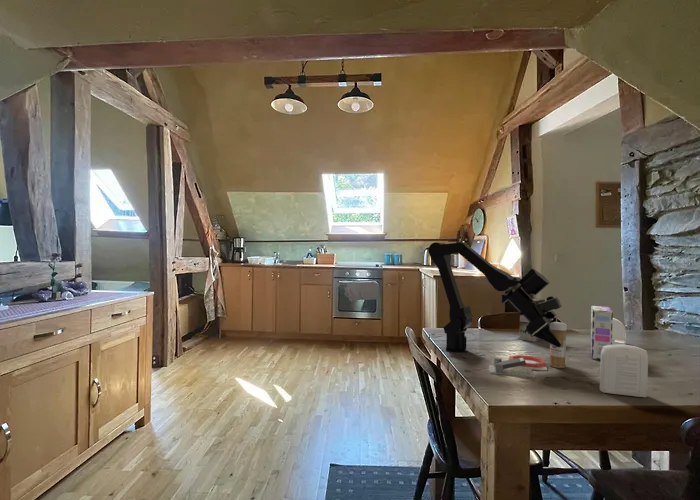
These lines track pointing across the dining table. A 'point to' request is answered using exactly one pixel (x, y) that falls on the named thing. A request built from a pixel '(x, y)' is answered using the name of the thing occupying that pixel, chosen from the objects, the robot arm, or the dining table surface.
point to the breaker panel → (509, 370)
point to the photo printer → (624, 370)
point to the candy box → (600, 329)
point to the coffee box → (523, 323)
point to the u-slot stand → (618, 332)
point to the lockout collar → (531, 362)
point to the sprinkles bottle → (558, 352)
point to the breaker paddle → (513, 363)
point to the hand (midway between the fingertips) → (562, 343)
